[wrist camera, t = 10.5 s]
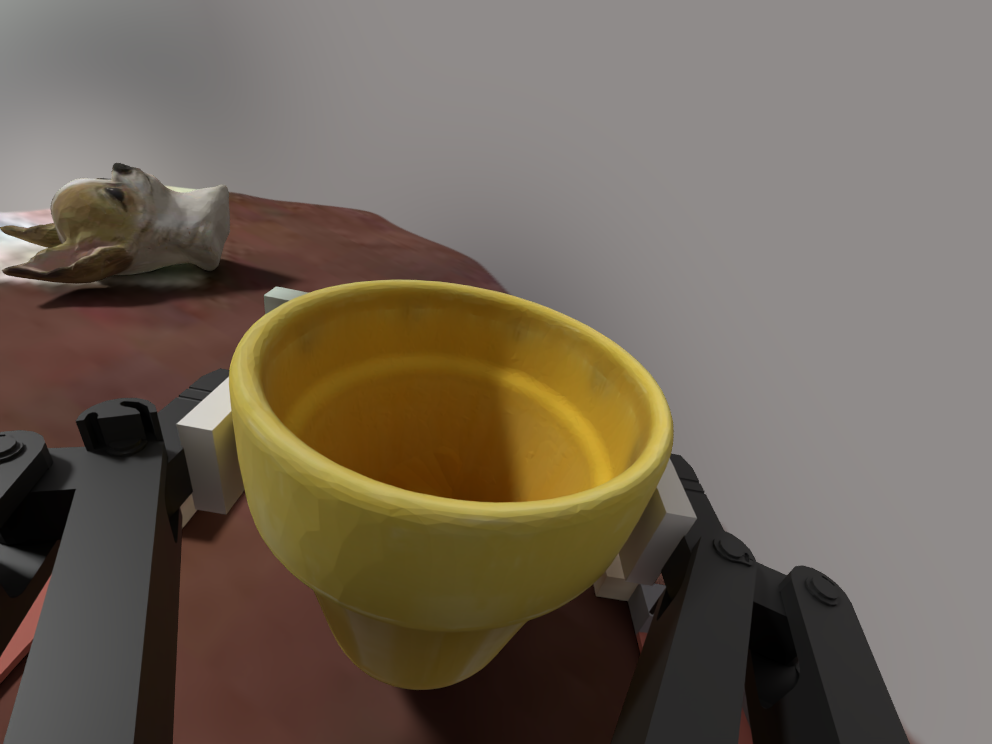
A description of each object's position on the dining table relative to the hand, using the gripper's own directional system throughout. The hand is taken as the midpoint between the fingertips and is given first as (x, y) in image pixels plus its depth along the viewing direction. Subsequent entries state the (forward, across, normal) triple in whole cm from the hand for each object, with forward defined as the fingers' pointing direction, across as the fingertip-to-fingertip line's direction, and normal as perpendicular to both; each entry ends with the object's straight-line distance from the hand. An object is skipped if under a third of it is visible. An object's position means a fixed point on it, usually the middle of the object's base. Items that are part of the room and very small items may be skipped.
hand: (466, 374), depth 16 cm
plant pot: (-4, 0, -7) cm, 8 cm away
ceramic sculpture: (+21, -29, -9) cm, 37 cm away
